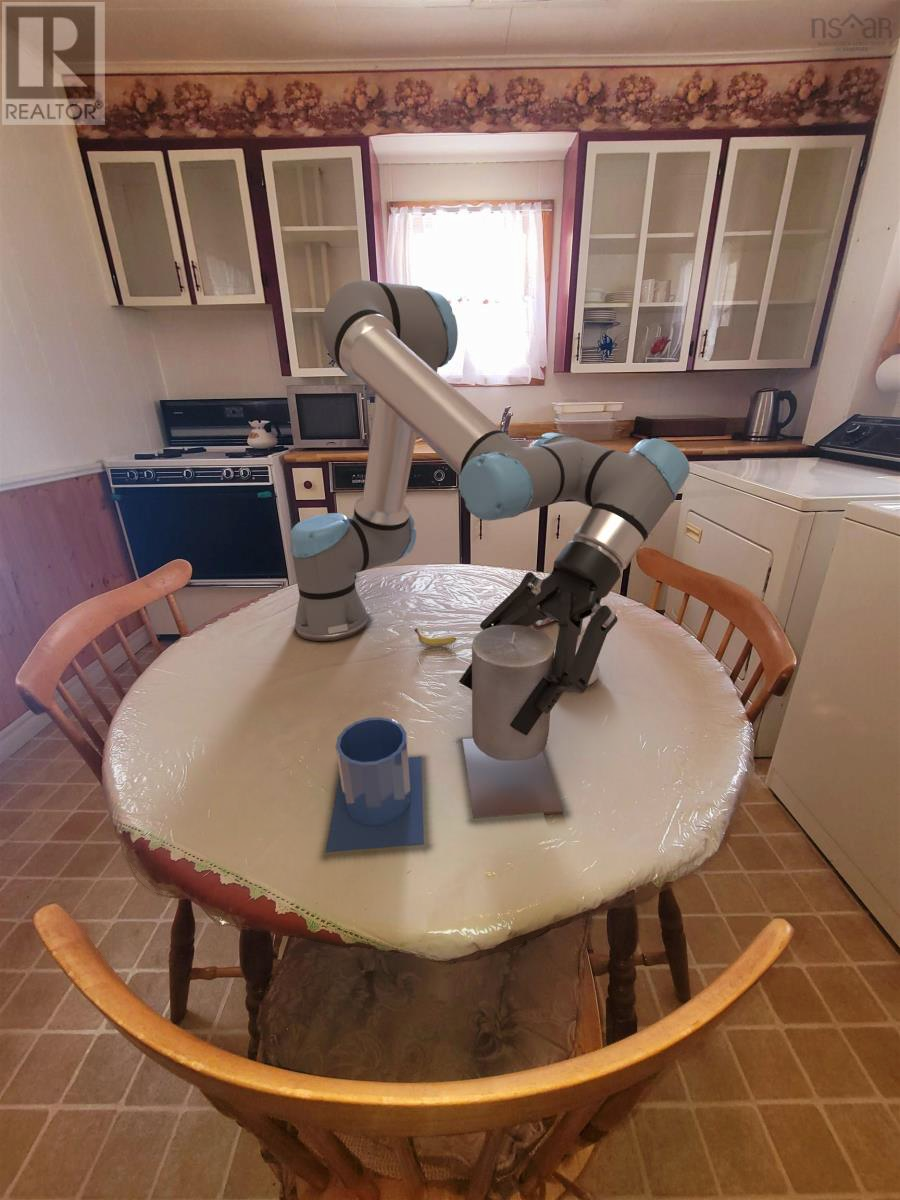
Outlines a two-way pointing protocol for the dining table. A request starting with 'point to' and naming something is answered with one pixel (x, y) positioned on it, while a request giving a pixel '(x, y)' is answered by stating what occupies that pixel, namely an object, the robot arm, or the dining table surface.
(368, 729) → the blue cup
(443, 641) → the banana
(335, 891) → the dining table surface
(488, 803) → the gray board
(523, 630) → the pillar candle
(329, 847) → the blue mat
